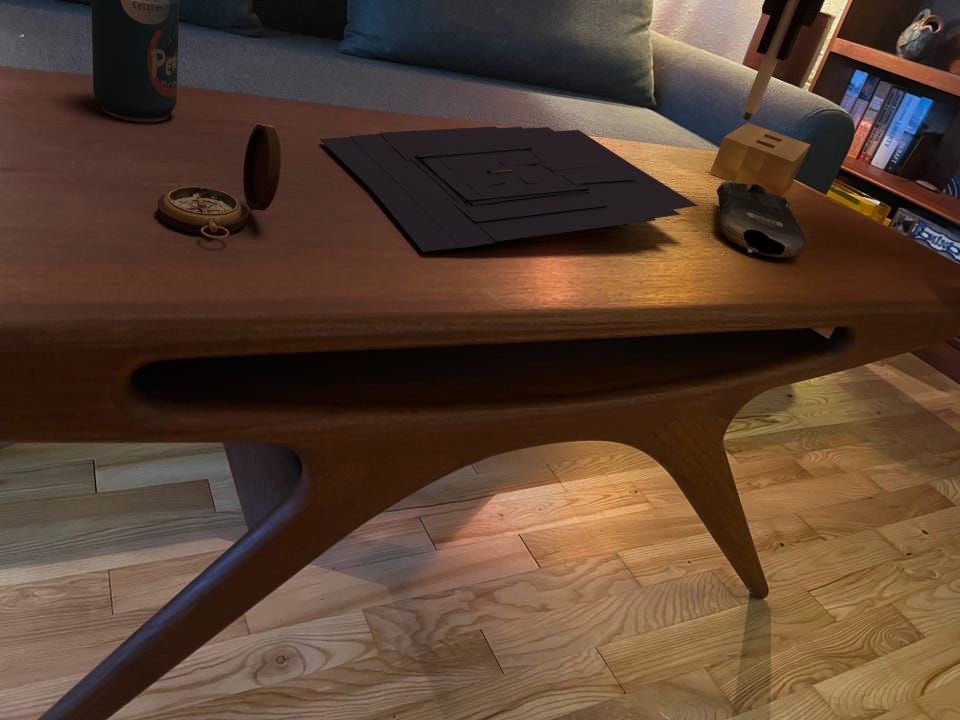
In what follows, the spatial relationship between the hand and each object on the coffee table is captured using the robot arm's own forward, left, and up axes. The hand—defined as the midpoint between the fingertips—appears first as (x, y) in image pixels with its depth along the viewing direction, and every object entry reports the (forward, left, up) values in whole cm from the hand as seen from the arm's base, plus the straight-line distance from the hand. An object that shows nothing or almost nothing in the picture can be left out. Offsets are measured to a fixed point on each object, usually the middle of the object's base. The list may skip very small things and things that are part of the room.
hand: (772, 55), depth 77 cm
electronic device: (-5, 0, -18) cm, 18 cm away
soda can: (+47, +36, -18) cm, 61 cm away
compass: (+26, +47, -18) cm, 56 cm away
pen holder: (0, -26, -17) cm, 31 cm away
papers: (+16, +19, -18) cm, 30 cm away
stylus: (0, 0, -6) cm, 6 cm away
